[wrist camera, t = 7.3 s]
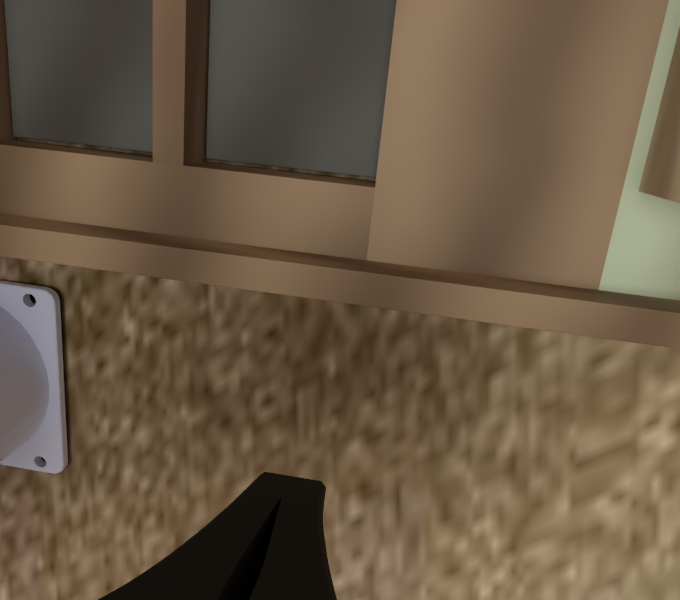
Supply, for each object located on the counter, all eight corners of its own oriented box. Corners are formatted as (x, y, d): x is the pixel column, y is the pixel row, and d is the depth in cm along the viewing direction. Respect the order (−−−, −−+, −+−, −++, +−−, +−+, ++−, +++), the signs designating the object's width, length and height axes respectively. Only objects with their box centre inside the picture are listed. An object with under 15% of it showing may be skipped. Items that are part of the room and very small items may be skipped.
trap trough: (-2, 227, 21) (-80, 245, 18) (-36, -192, 18) (-142, -265, 14) (795, 331, 19) (876, 375, 15) (964, -140, 15) (1121, -217, 11)
